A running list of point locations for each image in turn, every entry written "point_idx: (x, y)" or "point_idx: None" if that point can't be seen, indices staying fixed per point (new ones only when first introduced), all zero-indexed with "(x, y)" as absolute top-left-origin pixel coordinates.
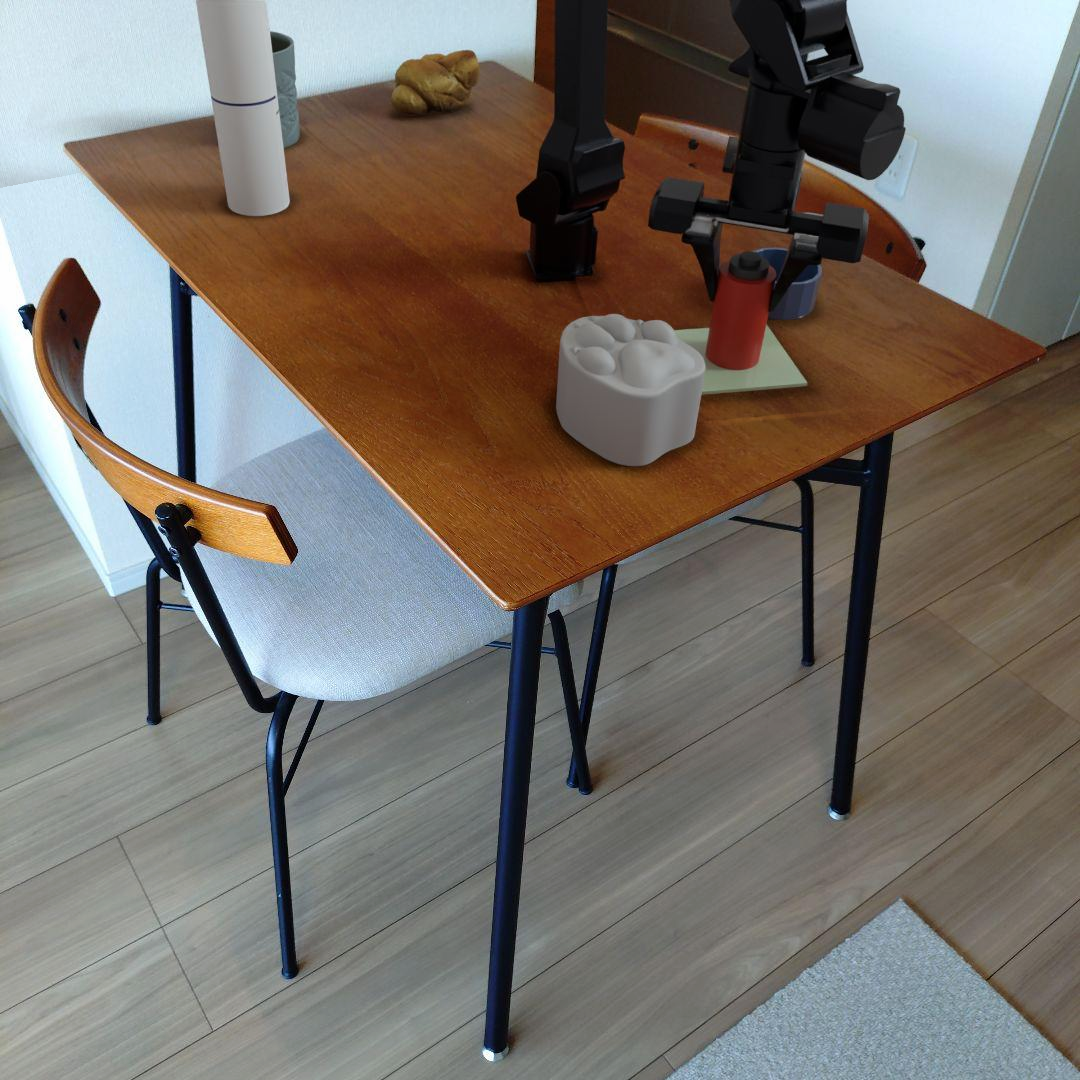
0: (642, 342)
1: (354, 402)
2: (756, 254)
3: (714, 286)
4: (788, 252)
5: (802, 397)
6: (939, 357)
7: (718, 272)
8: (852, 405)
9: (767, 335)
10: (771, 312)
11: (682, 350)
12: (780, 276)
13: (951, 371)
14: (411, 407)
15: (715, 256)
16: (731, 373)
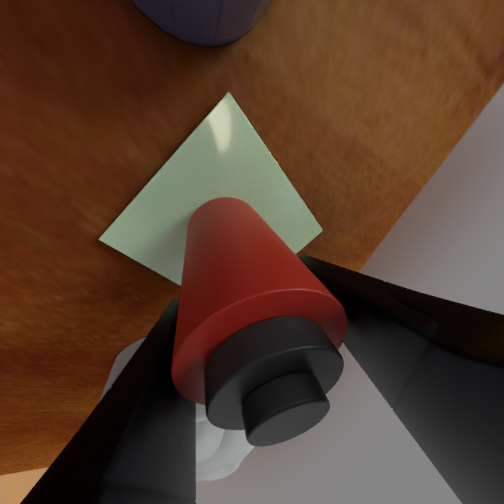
0: (205, 476)
1: (2, 463)
2: (308, 410)
3: None
4: (472, 467)
5: (315, 240)
6: (495, 8)
7: (171, 352)
8: (362, 222)
9: (247, 142)
10: (223, 33)
11: (247, 447)
12: (379, 391)
13: (492, 57)
14: (44, 441)
15: (181, 496)
16: None
